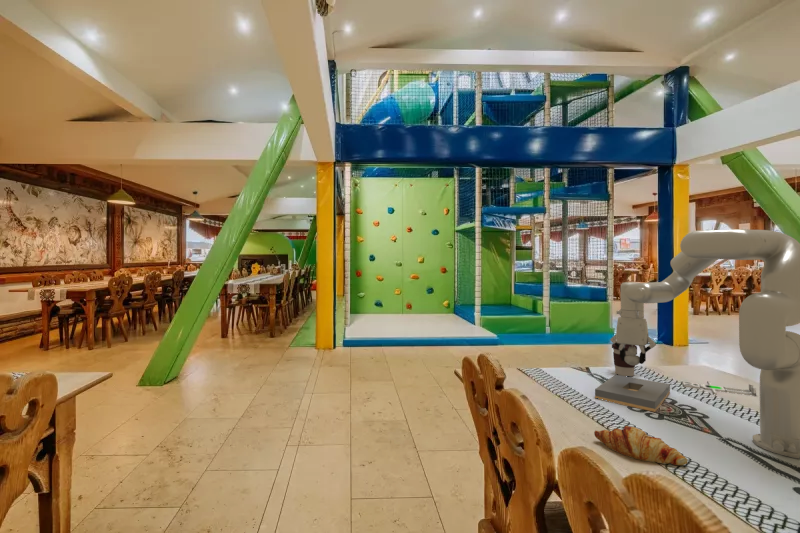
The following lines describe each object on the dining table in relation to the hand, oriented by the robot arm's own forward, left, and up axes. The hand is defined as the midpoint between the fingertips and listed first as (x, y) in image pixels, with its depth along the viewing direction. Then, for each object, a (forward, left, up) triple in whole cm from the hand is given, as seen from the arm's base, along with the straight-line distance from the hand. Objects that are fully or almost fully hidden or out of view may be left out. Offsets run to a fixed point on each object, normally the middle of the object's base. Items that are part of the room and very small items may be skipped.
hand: (632, 361), depth 142 cm
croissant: (-50, -12, -14) cm, 53 cm away
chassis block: (0, 0, -13) cm, 13 cm away
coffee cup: (+29, +10, -13) cm, 33 cm away
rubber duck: (0, 0, -1) cm, 1 cm away
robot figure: (+31, -22, -14) cm, 41 cm away
